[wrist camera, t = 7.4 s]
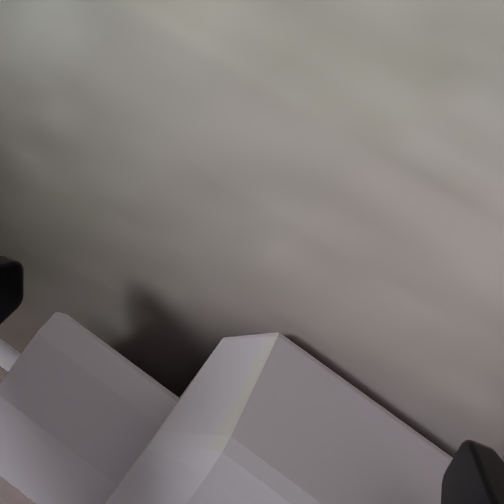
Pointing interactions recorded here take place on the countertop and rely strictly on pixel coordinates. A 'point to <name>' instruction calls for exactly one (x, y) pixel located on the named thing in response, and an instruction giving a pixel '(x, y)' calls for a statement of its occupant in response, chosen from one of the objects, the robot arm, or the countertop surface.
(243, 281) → the countertop surface
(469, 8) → the countertop surface
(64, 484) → the charger
